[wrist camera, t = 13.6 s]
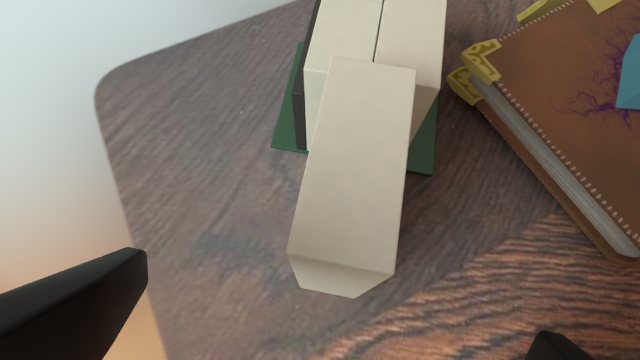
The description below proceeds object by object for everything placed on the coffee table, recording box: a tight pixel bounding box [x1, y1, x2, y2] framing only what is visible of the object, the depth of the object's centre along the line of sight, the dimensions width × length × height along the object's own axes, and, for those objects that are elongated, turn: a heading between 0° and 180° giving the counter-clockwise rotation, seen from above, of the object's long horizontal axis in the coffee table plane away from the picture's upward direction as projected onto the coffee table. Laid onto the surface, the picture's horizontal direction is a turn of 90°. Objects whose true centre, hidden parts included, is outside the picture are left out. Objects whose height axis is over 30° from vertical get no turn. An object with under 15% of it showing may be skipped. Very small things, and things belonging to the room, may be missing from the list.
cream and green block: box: [271, 0, 447, 176], centre depth 20 cm, size 8×10×8 cm
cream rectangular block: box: [286, 56, 417, 298], centre depth 15 cm, size 7×3×10 cm, turn 169°
